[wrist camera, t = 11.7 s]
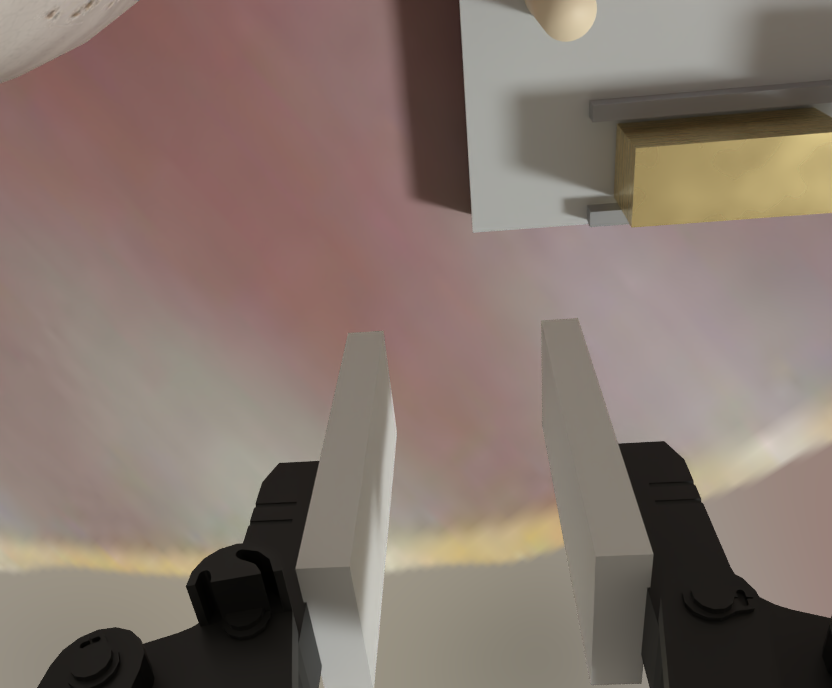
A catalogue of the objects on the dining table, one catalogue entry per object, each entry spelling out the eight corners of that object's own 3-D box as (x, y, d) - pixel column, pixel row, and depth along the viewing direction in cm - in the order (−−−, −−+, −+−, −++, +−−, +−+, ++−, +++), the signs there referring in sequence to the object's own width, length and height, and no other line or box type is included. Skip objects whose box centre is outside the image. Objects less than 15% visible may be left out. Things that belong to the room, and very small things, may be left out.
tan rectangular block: (613, 196, 29) (631, 227, 26) (616, 123, 28) (635, 148, 25) (800, 182, 28) (838, 212, 26) (813, 107, 27) (855, 130, 24)
